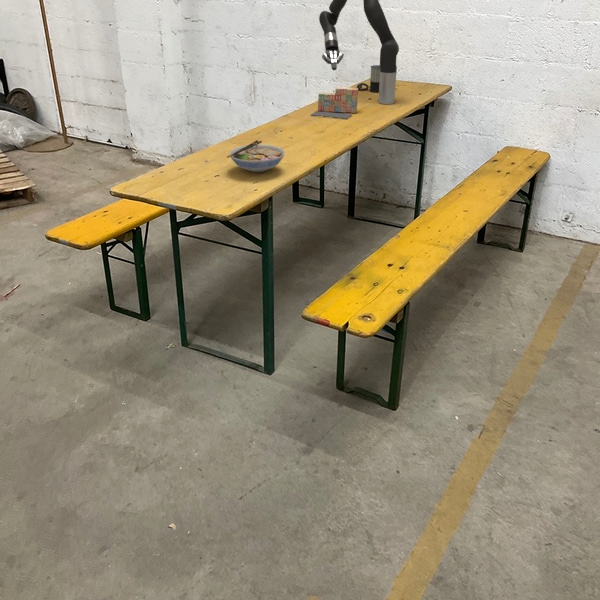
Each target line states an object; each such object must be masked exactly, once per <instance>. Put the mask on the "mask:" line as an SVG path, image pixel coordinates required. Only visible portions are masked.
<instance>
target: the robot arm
mask: <svg viewBox="0 0 600 600" xmlns="http://www.w3.org/2000/svg"><path fill="white" fill-rule="evenodd" d="M347 1H348V0H332V1H331V2H330V4H329V6H328V8H329V9H328V10H329V11H327V10H323V11H321V12H320V14H319V16H318V21H319V24H320V26H321V29H322V31H323V38H324V48H325V51H324V53H323V54H322V56H321V59H322V60H323V61H324V62H326V64H328V65H330V66H331V68H330V69H331V70H332V71H336V70H337V67H338V64H340V63H341V61H342V60H343V58H344V55H345V54H344V53H341V51H340V50H339V42H338V41H339V40H338V35H337V29H336V27H335V25H336V24H337V23H338V20H339V16H340V15H341V14H340V13H342V10H343V9H344V7H345V6H346V4H347ZM363 12H364V14H365V18H366V19H367V22H368V23H369V25H370V26H371V28H372V30H373V31H374V33H375V34H376V35H377V37H378V40H379V41H380V43H381V47H380V52H379V53H380V54H379V65H380V84H379V92H378V104H381V105H393V104H395V98H396V85H397V69H398V68H397V56H398V54H399V52H400V48H399V44H398V42H397V41H396V40H397V39H395V37H394V35H393V34H392V31H391V28H390V27H389V24H388V20H387V18H386V16H385V13H384V9H383V8H382V5H381V3H380V2H379V0H363Z"/></svg>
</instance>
